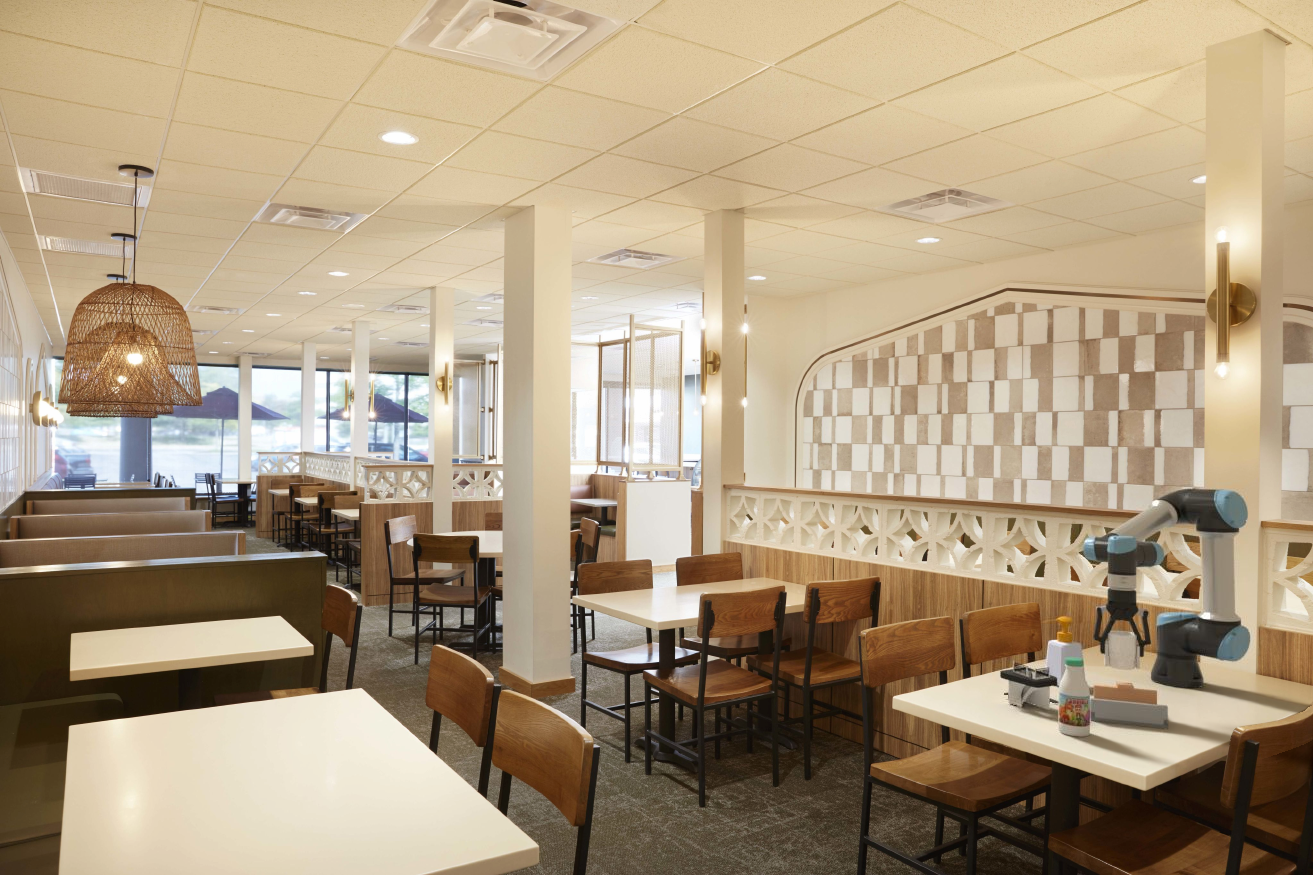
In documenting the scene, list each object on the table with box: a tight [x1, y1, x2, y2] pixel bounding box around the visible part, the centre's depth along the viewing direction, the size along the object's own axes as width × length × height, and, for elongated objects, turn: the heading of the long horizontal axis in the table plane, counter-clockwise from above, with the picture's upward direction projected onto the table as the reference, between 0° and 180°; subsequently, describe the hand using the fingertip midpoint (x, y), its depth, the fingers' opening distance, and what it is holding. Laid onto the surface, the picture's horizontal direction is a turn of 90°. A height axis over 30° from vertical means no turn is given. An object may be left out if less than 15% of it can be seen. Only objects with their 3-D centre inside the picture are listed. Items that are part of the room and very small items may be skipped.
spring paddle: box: [1093, 681, 1158, 705], centre depth 251 cm, size 16×3×8 cm, turn 69°
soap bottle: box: [1042, 615, 1086, 687], centre depth 285 cm, size 10×14×22 cm
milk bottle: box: [1057, 657, 1091, 737], centre depth 236 cm, size 8×8×20 cm
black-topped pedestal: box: [999, 660, 1058, 711], centre depth 259 cm, size 28×26×13 cm
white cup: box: [1106, 630, 1138, 671], centre depth 257 cm, size 8×8×10 cm
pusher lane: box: [1090, 697, 1169, 730], centre depth 252 cm, size 19×19×6 cm
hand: (1121, 666), depth 257 cm, fingers closed on white cup, 7 cm apart
